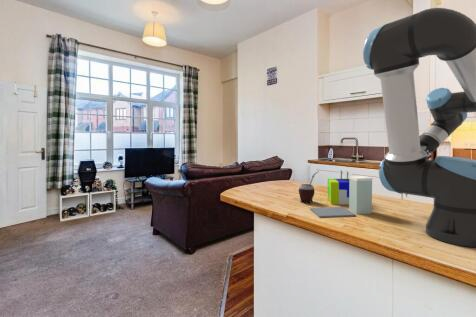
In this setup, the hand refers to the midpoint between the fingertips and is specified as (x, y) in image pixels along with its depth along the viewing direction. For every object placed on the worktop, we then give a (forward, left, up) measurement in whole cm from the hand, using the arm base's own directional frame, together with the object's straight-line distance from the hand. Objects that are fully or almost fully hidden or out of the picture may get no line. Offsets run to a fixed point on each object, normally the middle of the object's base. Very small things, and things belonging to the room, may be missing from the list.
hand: (388, 182), depth 101 cm
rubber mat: (-5, +23, -11) cm, 26 cm away
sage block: (-3, +11, -11) cm, 16 cm away
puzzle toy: (+13, +15, -12) cm, 23 cm away
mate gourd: (+11, +30, -11) cm, 34 cm away
